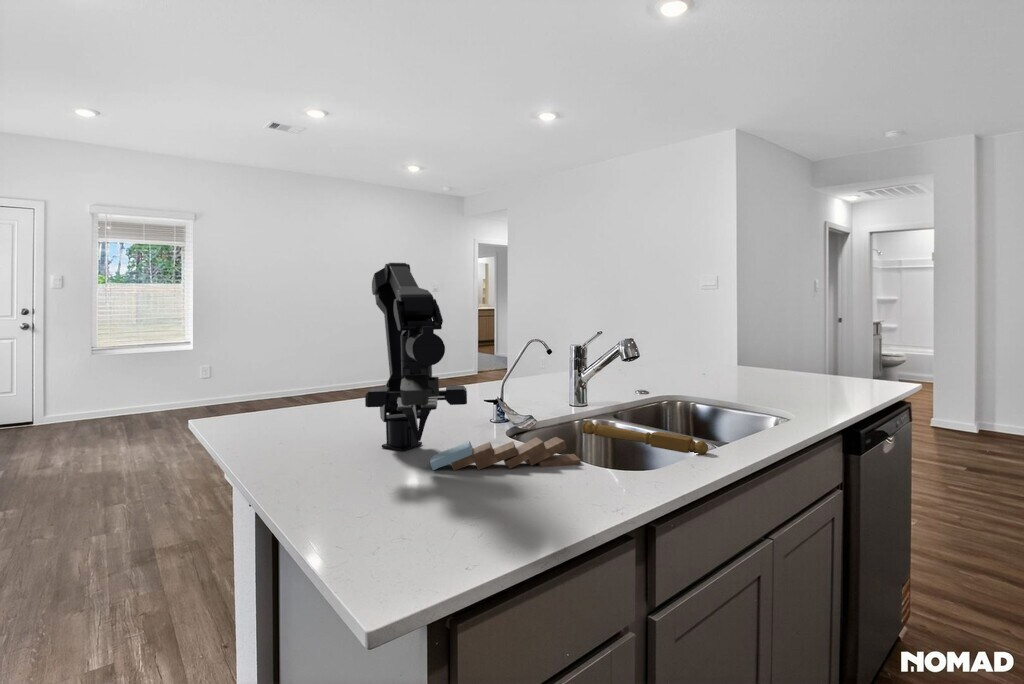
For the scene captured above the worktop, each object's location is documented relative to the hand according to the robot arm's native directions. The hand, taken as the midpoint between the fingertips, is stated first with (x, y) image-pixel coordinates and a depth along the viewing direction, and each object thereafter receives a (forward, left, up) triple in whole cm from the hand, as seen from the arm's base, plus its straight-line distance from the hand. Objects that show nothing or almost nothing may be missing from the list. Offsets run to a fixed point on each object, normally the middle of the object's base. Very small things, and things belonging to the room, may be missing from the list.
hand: (418, 440), depth 107 cm
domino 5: (+17, +12, -5) cm, 21 cm away
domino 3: (+9, +6, -5) cm, 12 cm away
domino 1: (+2, +1, -5) cm, 5 cm away
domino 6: (+19, +14, -5) cm, 24 cm away
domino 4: (+14, +9, -5) cm, 17 cm away
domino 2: (+5, +4, -5) cm, 8 cm away
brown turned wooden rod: (+32, +38, -6) cm, 50 cm away
